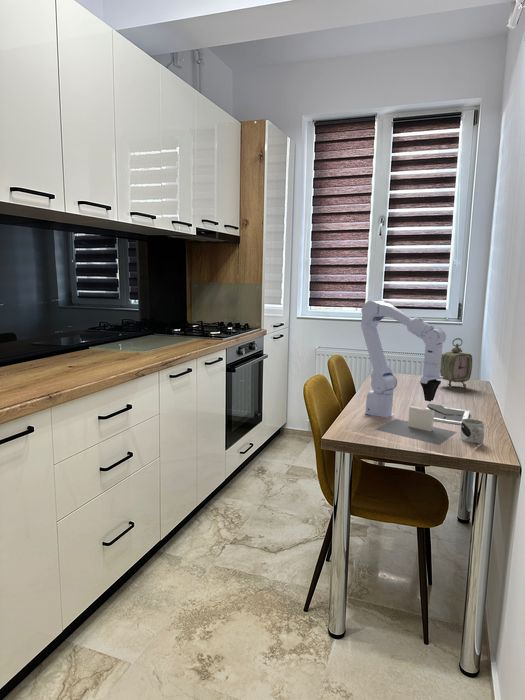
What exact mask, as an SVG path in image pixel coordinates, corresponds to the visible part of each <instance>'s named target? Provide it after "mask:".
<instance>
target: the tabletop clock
mask: <svg viewBox="0 0 525 700" xmlns="http://www.w3.org/2000/svg"><path fill="white" fill-rule="evenodd" d="M456 340H459V341H460V344H459V343H456V344H454V343H455V341H456ZM451 343H452V345H453V347H452V348H451V350H450V351H446V352H444V353H443V352H442V358H441V369H440V373H441V376H443V379H442V380H445V381H448V383H447V387H448V388H447V389H449V388H451V389H452V383H462V387H463V386H464V387H463V388H467V384H465V382H467V381H470V378H471V377H472V376H471V375H472V370H473V355H472V354H471V353H466V352H465V353H464V352H463V349H462V348H461V346H462V345H463V340H462V338H460V337H456V338H454V339H453V340H452V342H451ZM448 385H449V386H448Z"/></svg>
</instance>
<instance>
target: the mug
mask: <svg viewBox="0 0 525 700" xmlns="http://www.w3.org/2000/svg"><path fill="white" fill-rule="evenodd" d="M460 426H461V427H460V434H459V435H460V436H459V438H460V440H462V441H464V442H468V443H474V444H477V445H482V444H483V443H484V439H485V432H484V427H485V422H484V421H482V420H478V419H475V418H474V419H473V418H468V419H462V424H461V425H460ZM483 445H484V444H483Z"/></svg>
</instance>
